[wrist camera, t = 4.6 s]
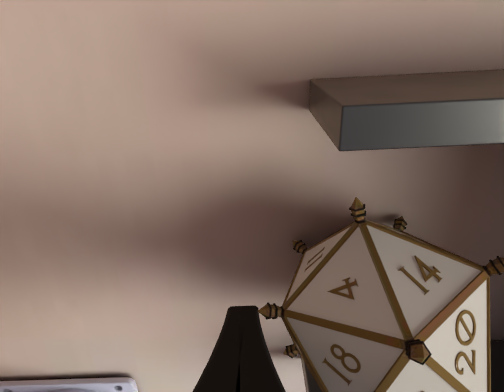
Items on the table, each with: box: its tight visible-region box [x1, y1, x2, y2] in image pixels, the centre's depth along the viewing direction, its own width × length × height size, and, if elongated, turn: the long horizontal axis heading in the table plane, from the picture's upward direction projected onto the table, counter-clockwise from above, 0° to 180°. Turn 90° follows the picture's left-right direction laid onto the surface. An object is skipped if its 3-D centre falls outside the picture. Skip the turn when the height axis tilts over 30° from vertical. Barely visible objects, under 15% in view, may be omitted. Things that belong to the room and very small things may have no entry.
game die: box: [258, 198, 504, 392], centre depth 13 cm, size 9×8×10 cm
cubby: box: [301, 69, 504, 392], centre depth 13 cm, size 14×16×7 cm
